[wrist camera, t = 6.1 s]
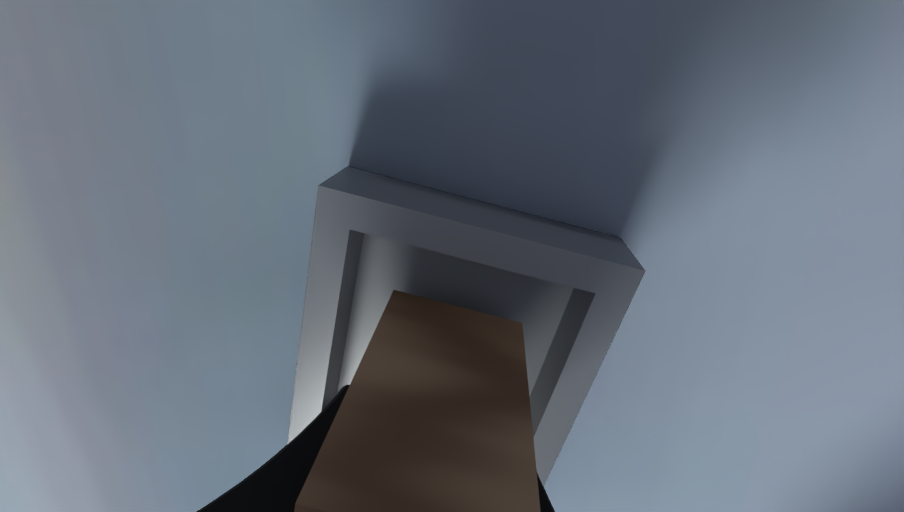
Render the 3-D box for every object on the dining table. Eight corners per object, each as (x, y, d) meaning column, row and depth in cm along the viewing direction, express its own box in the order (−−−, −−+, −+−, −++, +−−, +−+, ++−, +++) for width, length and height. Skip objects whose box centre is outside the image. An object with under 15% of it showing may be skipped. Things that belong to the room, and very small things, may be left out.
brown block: (522, 323, 13) (546, 567, 7) (465, 478, 16) (444, 752, 10) (393, 289, 13) (295, 503, 7) (359, 451, 16) (268, 708, 10)
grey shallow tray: (620, 238, 14) (645, 270, 12) (511, 490, 19) (514, 548, 16) (347, 166, 14) (318, 185, 12) (308, 438, 19) (281, 490, 16)
